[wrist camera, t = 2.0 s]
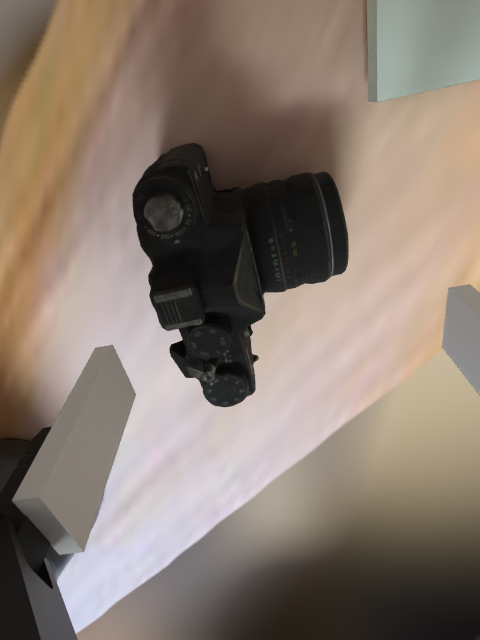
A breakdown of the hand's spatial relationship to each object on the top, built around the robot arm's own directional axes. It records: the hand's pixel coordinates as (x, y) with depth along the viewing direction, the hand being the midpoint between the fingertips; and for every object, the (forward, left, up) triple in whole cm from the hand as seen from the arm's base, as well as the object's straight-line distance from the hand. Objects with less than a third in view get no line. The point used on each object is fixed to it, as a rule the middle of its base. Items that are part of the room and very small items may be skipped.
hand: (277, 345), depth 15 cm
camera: (-1, 0, -13) cm, 13 cm away
